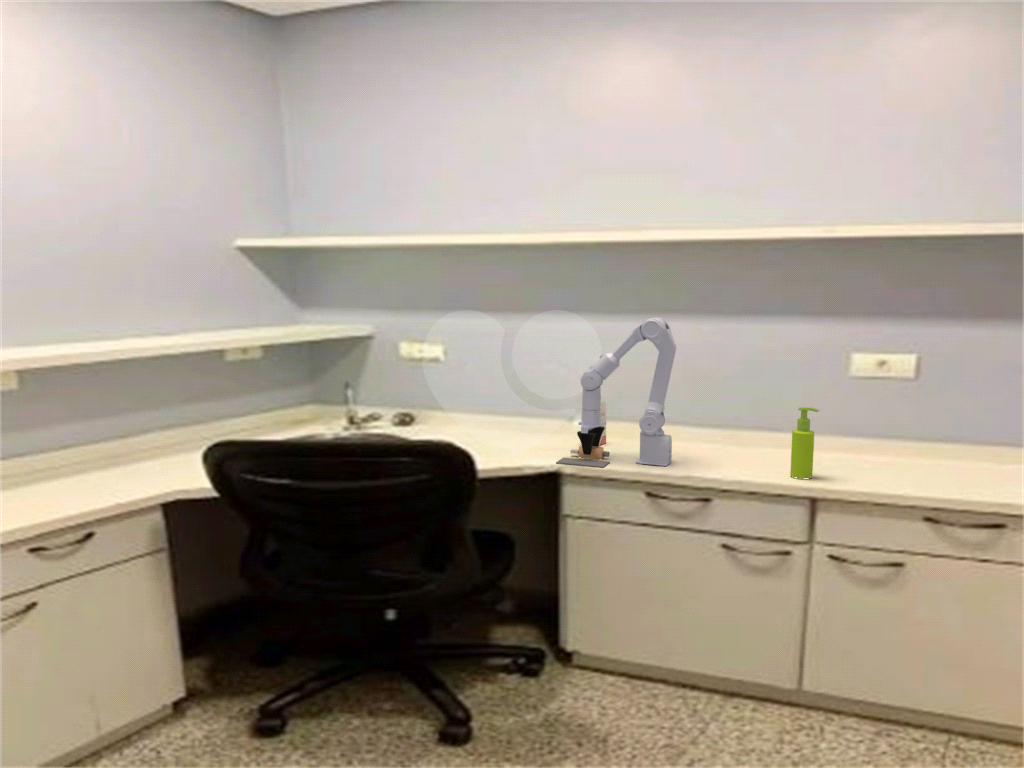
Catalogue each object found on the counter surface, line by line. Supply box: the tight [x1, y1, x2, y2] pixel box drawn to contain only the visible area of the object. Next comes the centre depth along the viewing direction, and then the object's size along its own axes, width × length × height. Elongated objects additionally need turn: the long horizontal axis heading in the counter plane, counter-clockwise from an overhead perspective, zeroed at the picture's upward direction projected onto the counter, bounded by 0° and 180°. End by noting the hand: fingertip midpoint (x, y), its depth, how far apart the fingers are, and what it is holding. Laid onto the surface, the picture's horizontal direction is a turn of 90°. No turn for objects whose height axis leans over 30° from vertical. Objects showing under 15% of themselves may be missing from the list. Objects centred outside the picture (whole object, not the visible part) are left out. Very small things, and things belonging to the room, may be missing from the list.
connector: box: [569, 445, 611, 460], centre depth 260 cm, size 12×4×3 cm, turn 67°
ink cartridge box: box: [580, 400, 607, 446], centre depth 279 cm, size 9×5×15 cm, turn 143°
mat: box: [555, 457, 611, 469], centre depth 253 cm, size 15×7×1 cm, turn 67°
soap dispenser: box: [789, 406, 820, 478], centre depth 234 cm, size 6×7×20 cm
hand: (590, 451), depth 260 cm, fingers open, 7 cm apart
